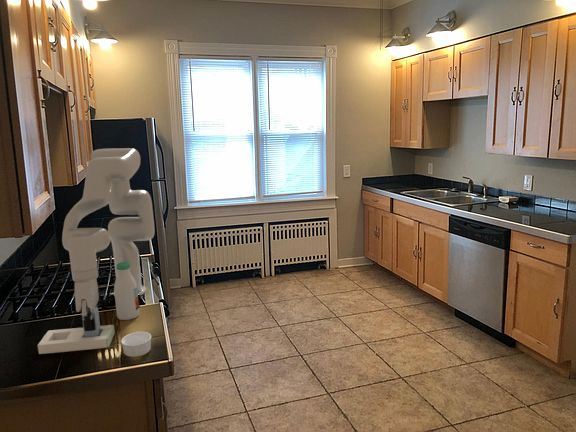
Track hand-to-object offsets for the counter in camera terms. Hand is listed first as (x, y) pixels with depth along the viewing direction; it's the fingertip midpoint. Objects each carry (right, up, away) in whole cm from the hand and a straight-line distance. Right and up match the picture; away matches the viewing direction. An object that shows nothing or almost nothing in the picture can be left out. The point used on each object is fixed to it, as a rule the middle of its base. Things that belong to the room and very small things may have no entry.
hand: (91, 326), depth 152 cm
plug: (0, -4, +1) cm, 4 cm away
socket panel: (-5, -5, 0) cm, 7 cm away
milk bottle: (+5, -1, +20) cm, 20 cm away
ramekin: (+16, -7, -5) cm, 18 cm away
